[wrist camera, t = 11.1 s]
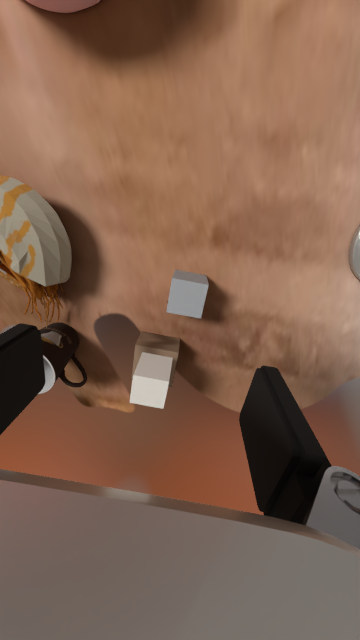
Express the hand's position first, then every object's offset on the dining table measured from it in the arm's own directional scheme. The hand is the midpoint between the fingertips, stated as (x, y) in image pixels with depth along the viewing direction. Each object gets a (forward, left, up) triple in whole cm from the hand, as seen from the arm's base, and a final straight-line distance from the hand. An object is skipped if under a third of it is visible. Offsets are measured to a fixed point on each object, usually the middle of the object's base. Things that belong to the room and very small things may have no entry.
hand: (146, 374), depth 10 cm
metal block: (+1, +16, -28) cm, 33 cm away
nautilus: (+22, +3, -28) cm, 36 cm away
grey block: (-2, +4, -28) cm, 28 cm away
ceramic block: (+1, +17, -23) cm, 28 cm away
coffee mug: (+18, +19, -28) cm, 38 cm away
